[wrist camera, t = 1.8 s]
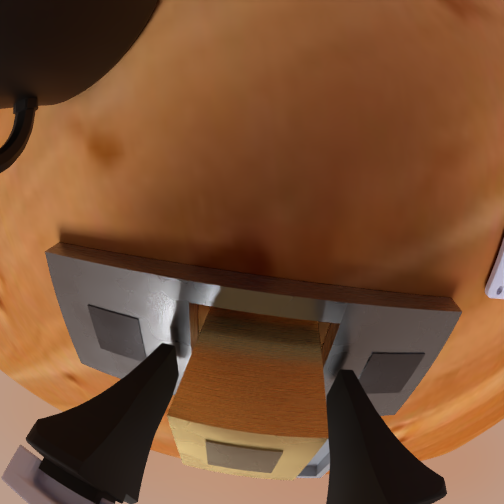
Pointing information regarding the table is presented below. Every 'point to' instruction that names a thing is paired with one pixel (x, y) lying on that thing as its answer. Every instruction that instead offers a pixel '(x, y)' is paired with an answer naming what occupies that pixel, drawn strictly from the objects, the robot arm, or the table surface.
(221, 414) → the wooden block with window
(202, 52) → the table surface
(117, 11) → the mug
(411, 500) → the robot arm
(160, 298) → the metal plate with cutout
